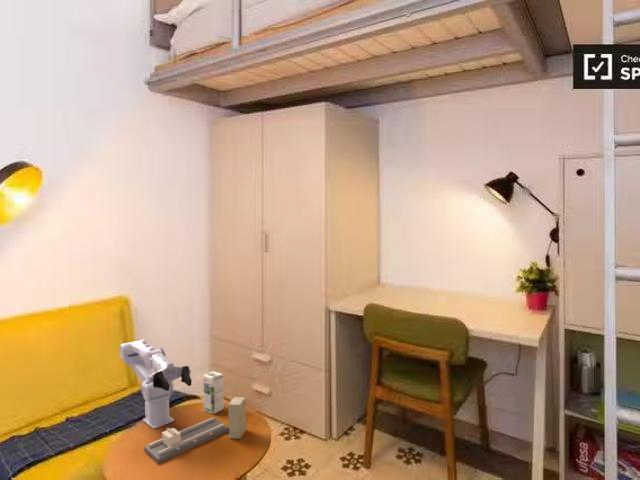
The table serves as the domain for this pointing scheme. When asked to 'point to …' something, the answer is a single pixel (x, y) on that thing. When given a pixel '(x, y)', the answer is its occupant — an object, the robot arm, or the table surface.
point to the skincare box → (237, 417)
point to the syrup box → (213, 392)
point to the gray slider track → (187, 439)
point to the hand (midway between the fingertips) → (179, 385)
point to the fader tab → (171, 437)
